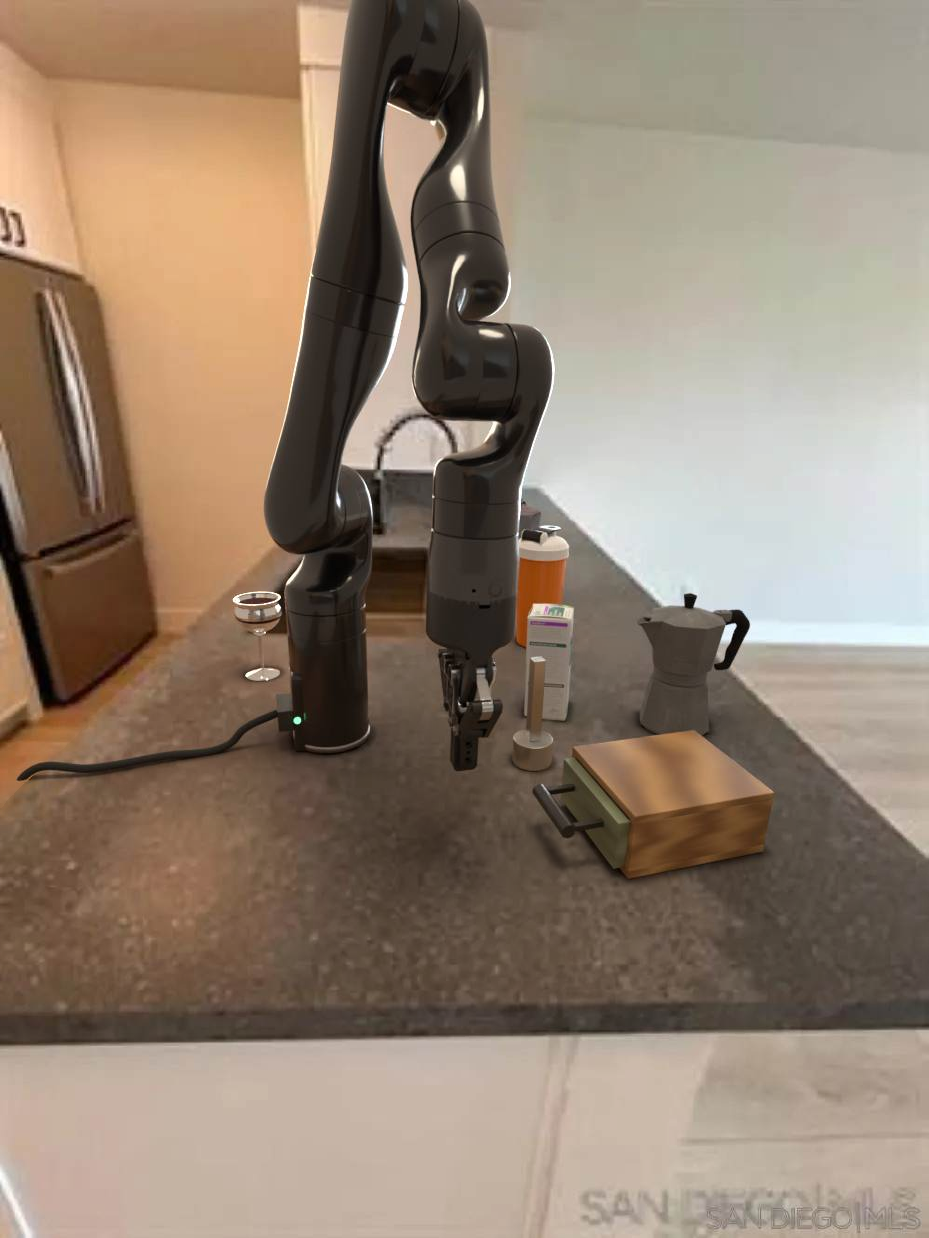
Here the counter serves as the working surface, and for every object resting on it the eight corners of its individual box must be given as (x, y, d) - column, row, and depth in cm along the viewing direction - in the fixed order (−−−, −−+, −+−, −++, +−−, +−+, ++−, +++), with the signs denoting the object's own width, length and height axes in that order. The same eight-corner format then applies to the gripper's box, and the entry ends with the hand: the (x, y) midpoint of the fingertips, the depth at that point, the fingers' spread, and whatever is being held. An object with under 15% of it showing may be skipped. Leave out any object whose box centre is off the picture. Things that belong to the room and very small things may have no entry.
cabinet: (627, 879, 60) (635, 816, 58) (568, 801, 72) (572, 746, 70) (763, 851, 65) (774, 792, 62) (686, 781, 76) (693, 729, 74)
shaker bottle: (570, 639, 119) (579, 527, 112) (548, 655, 112) (556, 536, 105) (525, 630, 123) (531, 521, 117) (501, 644, 116) (506, 529, 110)
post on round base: (520, 773, 77) (526, 668, 73) (506, 753, 81) (511, 653, 77) (557, 768, 78) (565, 664, 74) (542, 748, 82) (548, 649, 78)
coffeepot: (642, 744, 84) (658, 607, 78) (612, 710, 93) (625, 584, 87) (753, 735, 87) (777, 602, 81) (714, 703, 95) (733, 581, 90)
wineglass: (260, 662, 106) (254, 589, 102) (295, 670, 104) (290, 595, 100) (229, 677, 100) (222, 600, 97) (265, 686, 98) (259, 608, 94)
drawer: (569, 877, 59) (573, 831, 58) (522, 804, 70) (524, 763, 68) (740, 843, 64) (748, 800, 63) (672, 780, 74) (677, 742, 73)
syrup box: (566, 722, 89) (574, 618, 85) (522, 717, 90) (527, 614, 86) (568, 703, 94) (576, 605, 90) (526, 699, 96) (532, 601, 91)
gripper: (412, 564, 61) (409, 735, 66) (446, 611, 49) (439, 814, 54) (492, 562, 63) (482, 728, 68) (543, 607, 51) (526, 803, 56)
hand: (463, 766), depth 61 cm, fingers closed
